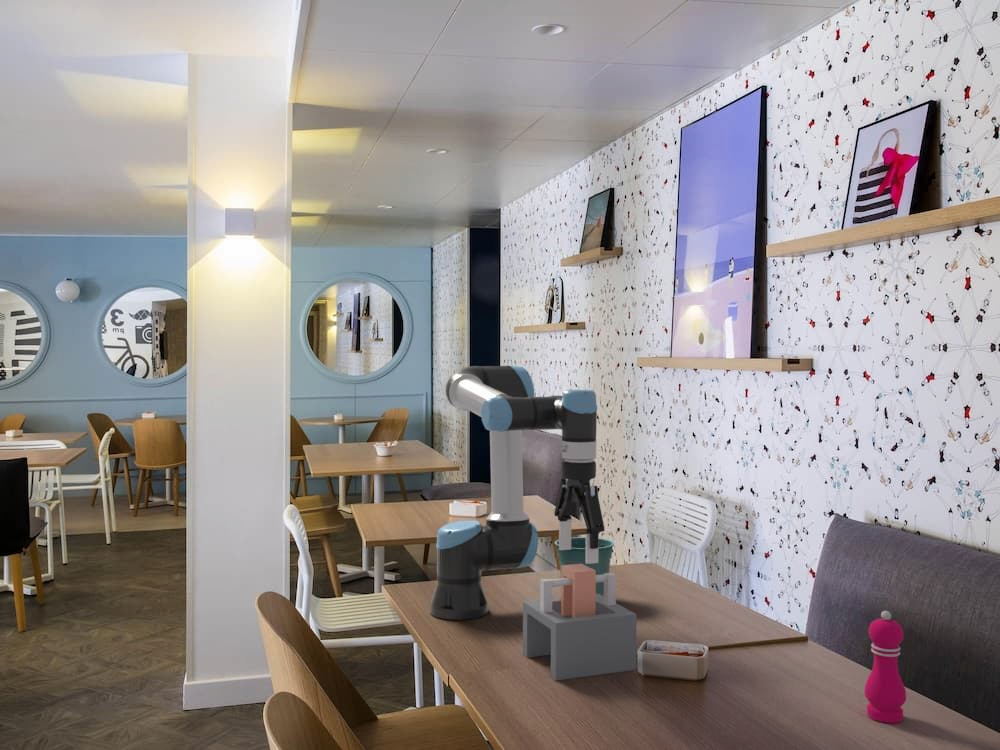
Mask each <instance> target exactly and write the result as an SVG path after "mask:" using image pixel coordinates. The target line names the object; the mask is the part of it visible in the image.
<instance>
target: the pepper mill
mask: <svg viewBox="0 0 1000 750" xmlns="http://www.w3.org/2000/svg"><path fill="white" fill-rule="evenodd" d="M880 617H881V618H876V619H875V620H872V622H870V625H869V626H868V637H869V638H870V640H871V641H872V643H871V653H873V664H872V669H871V671H870V673H869V676H868V677H867V679H866V682H865V684H864V685H865V686H864V697H865V698H866V700H868V702H869V703H868V704H867V705H866V714H867V717H868V718H869V719H871V718H872V719H871V720H873V719H874V721H875V720H877V721H876V722H879V721H881V722H880V723H883V722H886V723H885V724H899V723H901V722H903V720H904V709H903V708H902V706H903V705H904V704H905V703H906V701H907V691H906V687H905V685H904V683H903V681H902V678H901V676H900V673H899V672H900V671H899V666H898V658H899V656H900V655H901V652H900V651H901V647H900V644H901V643H902V641H904V630H903V628H902V626H901V625H900V624H899V622H897V621H895V620H893V619H892V614H891V611H888V610H883V611H882V612H881V614H880ZM898 722H899V723H898Z"/></svg>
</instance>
